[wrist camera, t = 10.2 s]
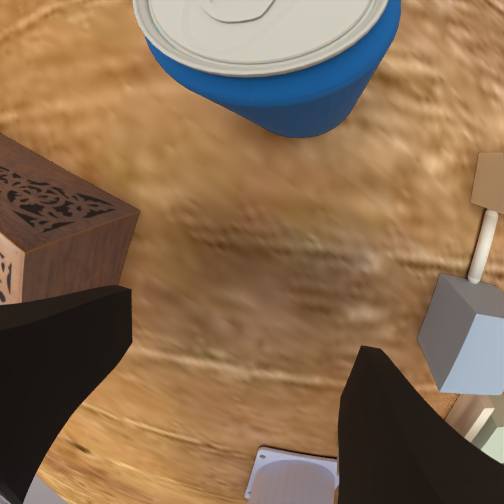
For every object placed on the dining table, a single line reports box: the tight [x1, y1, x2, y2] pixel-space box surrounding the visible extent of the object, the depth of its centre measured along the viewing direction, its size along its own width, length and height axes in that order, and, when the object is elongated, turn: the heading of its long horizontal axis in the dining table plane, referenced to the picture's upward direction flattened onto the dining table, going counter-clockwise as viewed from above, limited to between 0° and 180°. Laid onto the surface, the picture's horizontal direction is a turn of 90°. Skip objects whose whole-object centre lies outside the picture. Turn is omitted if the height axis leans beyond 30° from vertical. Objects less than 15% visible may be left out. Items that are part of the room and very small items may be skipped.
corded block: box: [417, 153, 504, 395], centre depth 13 cm, size 12×4×6 cm, turn 171°
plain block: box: [471, 395, 504, 463], centre depth 17 cm, size 4×4×4 cm
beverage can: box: [133, 0, 401, 138], centre depth 10 cm, size 6×6×12 cm
